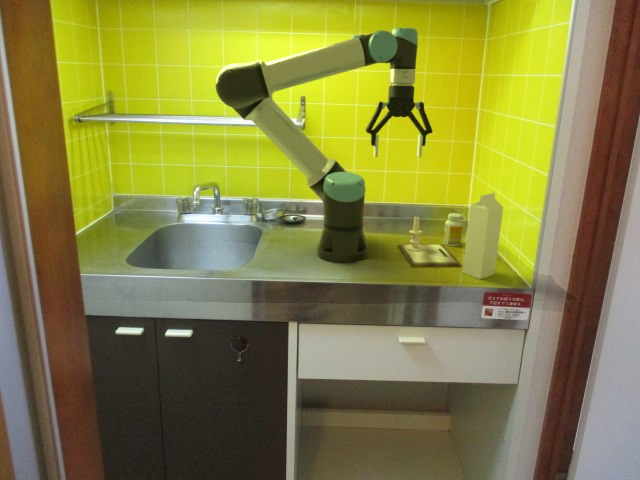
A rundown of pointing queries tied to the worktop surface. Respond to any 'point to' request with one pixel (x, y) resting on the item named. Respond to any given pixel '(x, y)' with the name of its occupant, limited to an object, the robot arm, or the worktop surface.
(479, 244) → the milk
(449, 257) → the writing board
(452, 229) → the supplement bottle
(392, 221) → the worktop surface
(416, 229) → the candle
